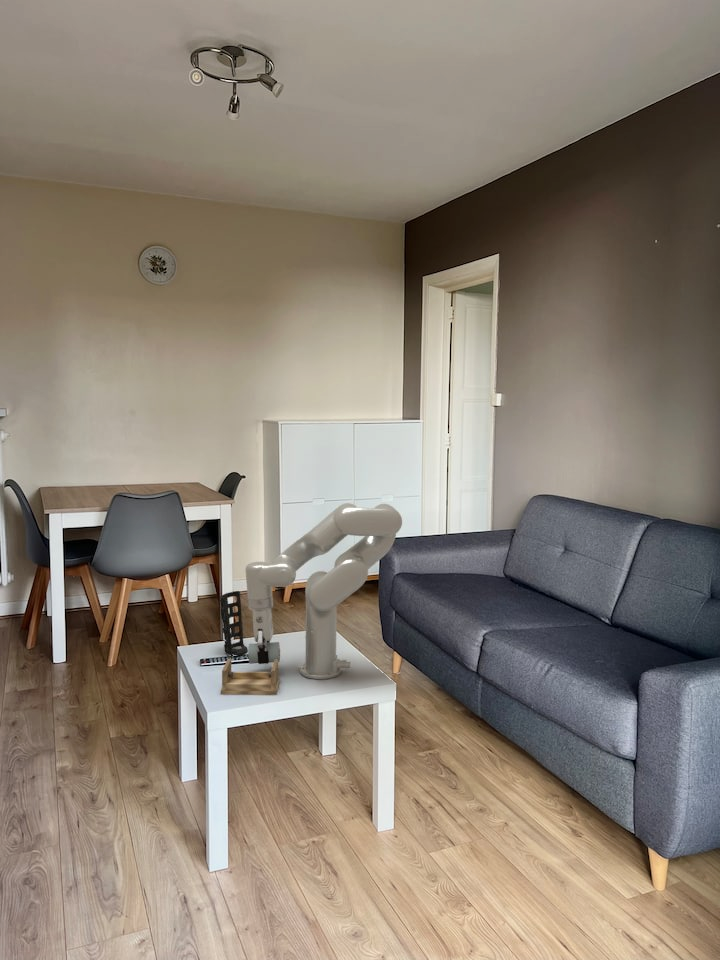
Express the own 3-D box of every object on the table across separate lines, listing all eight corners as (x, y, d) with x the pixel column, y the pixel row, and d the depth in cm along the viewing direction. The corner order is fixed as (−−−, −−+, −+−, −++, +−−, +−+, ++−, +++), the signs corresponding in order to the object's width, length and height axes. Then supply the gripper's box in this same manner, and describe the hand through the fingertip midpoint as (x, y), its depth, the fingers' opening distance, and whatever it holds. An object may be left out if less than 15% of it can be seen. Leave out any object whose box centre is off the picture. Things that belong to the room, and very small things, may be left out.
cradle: (279, 681, 217) (279, 659, 217) (276, 694, 207) (276, 671, 207) (226, 681, 217) (226, 658, 216) (220, 694, 207) (220, 670, 206)
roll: (281, 657, 226) (279, 639, 225) (279, 664, 220) (278, 646, 219) (251, 659, 226) (249, 641, 225) (248, 666, 220) (246, 648, 219)
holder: (243, 657, 237) (237, 597, 235) (220, 658, 238) (214, 599, 236) (250, 647, 248) (244, 589, 246) (228, 648, 248) (223, 591, 247)
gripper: (269, 609, 213) (274, 669, 214) (275, 594, 230) (279, 649, 232) (244, 611, 212) (248, 670, 214) (252, 595, 230) (256, 650, 232)
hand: (264, 659), depth 223 cm, fingers closed on roll, 5 cm apart
